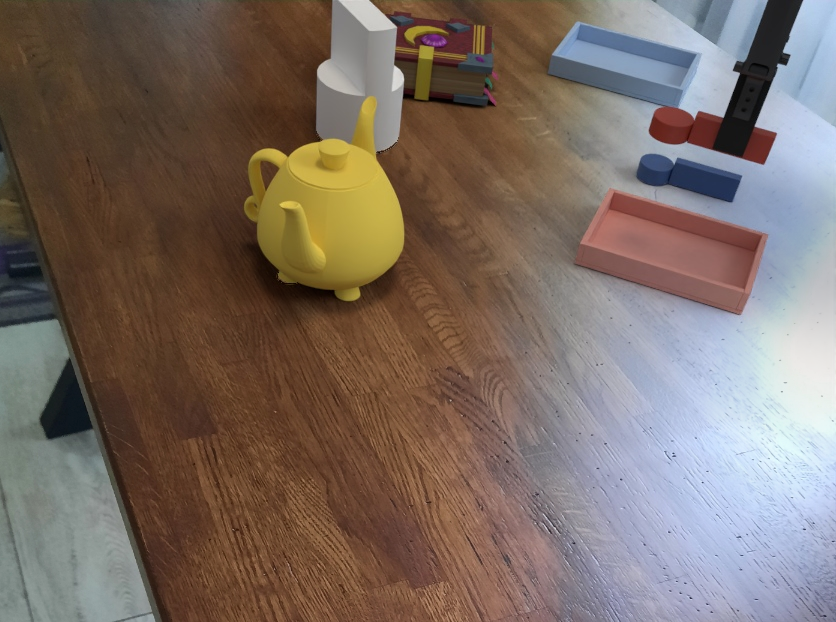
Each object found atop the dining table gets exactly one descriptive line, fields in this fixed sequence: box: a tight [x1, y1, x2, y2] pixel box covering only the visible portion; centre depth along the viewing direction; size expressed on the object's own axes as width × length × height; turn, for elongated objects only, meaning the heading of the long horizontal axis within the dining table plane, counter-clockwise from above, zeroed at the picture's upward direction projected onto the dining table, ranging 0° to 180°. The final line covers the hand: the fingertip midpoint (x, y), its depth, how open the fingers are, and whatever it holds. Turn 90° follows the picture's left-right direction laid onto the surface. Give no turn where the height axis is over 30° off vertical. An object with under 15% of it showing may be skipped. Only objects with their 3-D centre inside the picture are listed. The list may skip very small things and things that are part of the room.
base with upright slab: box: [315, 0, 404, 152], centre depth 95 cm, size 9×9×12 cm
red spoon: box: [648, 106, 778, 166], centre depth 81 cm, size 11×4×2 cm, turn 67°
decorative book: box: [383, 10, 499, 107], centre depth 107 cm, size 11×16×5 cm
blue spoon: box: [635, 153, 743, 203], centre depth 98 cm, size 11×4×2 cm, turn 67°
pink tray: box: [574, 187, 769, 315], centre depth 90 cm, size 16×11×2 cm
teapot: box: [243, 96, 405, 302], centre depth 81 cm, size 20×15×12 cm
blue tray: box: [547, 20, 703, 108], centre depth 113 cm, size 16×11×2 cm
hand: (729, 146), depth 82 cm, fingers closed on red spoon, 1 cm apart
